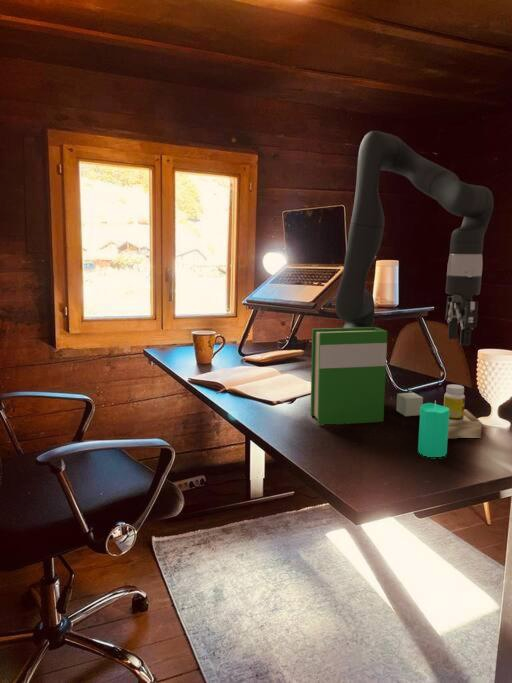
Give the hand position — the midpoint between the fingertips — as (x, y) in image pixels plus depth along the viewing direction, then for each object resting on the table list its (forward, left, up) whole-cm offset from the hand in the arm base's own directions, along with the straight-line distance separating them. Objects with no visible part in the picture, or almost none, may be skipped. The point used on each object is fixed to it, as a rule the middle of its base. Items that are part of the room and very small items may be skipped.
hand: (458, 342), depth 117 cm
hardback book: (-25, +8, -23) cm, 35 cm away
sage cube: (-7, +14, -23) cm, 28 cm away
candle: (-9, -14, -23) cm, 28 cm away
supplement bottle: (0, 0, -20) cm, 20 cm away
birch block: (0, 0, -23) cm, 23 cm away
